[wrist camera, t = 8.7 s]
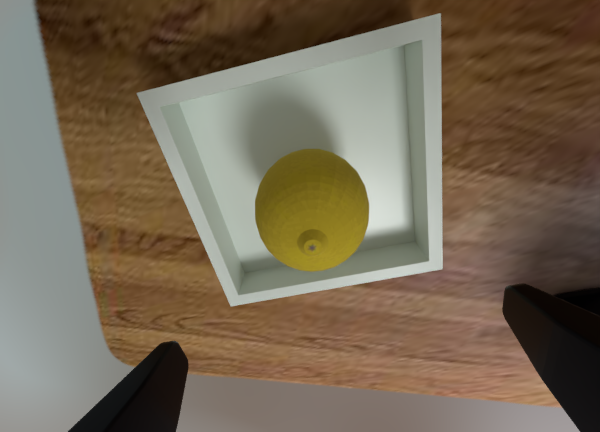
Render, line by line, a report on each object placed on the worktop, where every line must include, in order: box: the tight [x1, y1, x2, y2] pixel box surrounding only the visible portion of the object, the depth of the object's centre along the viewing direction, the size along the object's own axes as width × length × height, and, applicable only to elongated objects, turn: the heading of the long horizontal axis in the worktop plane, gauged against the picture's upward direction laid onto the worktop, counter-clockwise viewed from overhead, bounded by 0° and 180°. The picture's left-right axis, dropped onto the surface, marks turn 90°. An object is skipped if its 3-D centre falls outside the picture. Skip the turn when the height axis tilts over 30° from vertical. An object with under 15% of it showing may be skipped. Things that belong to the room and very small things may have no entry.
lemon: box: [255, 149, 369, 272], centre depth 14 cm, size 6×6×8 cm
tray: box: [137, 13, 443, 306], centre depth 17 cm, size 14×14×3 cm
